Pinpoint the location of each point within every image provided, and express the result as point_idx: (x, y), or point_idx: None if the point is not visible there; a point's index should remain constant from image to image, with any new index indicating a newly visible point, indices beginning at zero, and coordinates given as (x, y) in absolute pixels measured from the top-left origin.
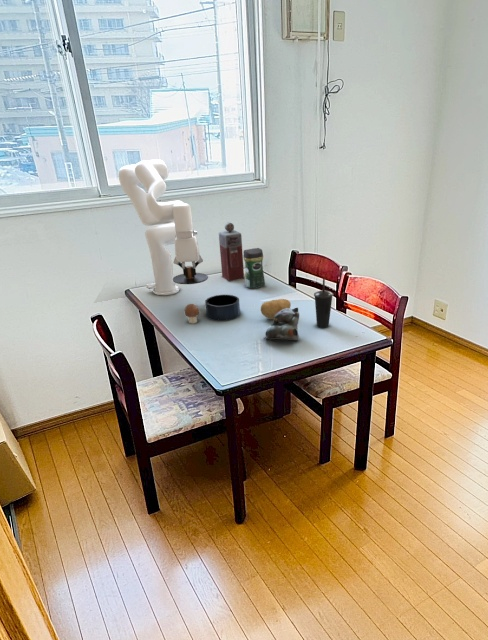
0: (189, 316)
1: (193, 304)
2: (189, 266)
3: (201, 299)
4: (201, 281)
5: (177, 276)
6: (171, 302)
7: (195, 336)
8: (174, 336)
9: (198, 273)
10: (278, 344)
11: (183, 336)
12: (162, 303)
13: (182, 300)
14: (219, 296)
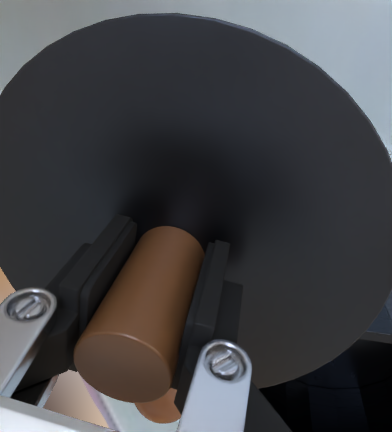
0: None
1: (168, 418)
2: (130, 364)
3: (300, 40)
4: (260, 385)
5: (16, 135)
6: (73, 21)
7: (169, 428)
8: (104, 402)
9: (321, 117)
10: None
11: (132, 413)
12: (13, 18)
13: (153, 4)
14: (369, 335)
